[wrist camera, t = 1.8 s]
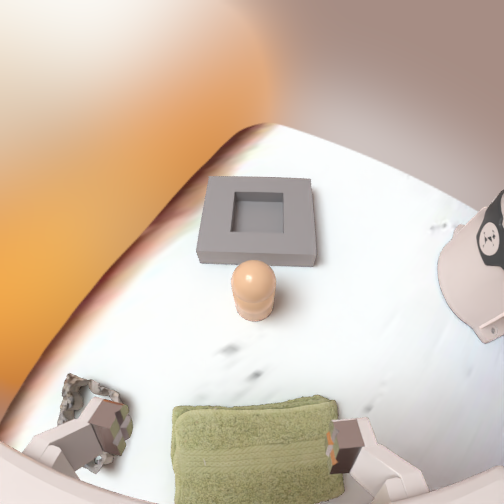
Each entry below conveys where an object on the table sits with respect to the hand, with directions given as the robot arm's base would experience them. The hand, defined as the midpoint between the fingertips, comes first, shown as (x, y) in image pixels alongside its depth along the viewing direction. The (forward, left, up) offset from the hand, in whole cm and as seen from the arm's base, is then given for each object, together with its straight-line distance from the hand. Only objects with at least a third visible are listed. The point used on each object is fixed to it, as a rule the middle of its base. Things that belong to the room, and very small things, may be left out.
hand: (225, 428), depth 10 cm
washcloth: (-1, +5, -22) cm, 22 cm away
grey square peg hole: (0, -24, -21) cm, 32 cm away
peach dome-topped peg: (0, -13, -21) cm, 25 cm away
